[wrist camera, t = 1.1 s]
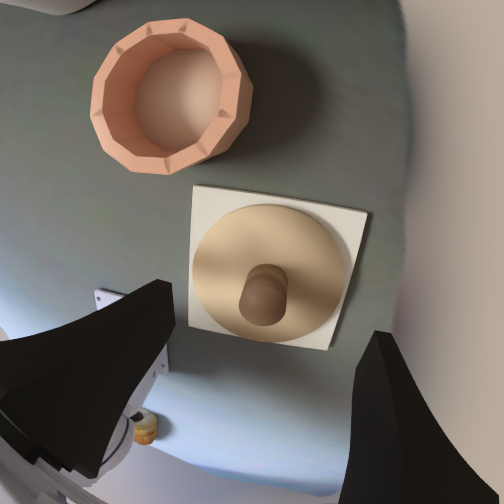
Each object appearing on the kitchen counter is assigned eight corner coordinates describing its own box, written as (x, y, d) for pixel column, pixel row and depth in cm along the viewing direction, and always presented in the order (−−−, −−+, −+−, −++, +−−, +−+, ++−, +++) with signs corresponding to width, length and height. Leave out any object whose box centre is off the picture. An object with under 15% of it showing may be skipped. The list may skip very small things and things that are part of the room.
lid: (323, 345, 26) (325, 379, 22) (193, 323, 27) (178, 353, 23) (359, 218, 21) (373, 238, 17) (199, 193, 22) (178, 207, 18)
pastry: (162, 441, 39) (155, 459, 35) (125, 427, 39) (116, 444, 36) (158, 411, 35) (149, 431, 32) (116, 395, 36) (104, 413, 32)
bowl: (243, 170, 21) (228, 181, 17) (124, 159, 22) (88, 169, 18) (259, 41, 17) (249, 17, 13) (136, 44, 18) (101, 30, 14)
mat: (326, 346, 26) (327, 350, 26) (190, 322, 27) (188, 326, 27) (365, 211, 21) (367, 213, 21) (195, 184, 22) (193, 185, 22)
